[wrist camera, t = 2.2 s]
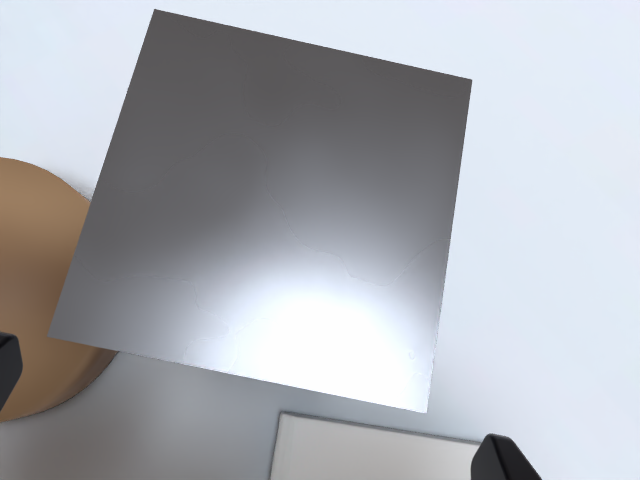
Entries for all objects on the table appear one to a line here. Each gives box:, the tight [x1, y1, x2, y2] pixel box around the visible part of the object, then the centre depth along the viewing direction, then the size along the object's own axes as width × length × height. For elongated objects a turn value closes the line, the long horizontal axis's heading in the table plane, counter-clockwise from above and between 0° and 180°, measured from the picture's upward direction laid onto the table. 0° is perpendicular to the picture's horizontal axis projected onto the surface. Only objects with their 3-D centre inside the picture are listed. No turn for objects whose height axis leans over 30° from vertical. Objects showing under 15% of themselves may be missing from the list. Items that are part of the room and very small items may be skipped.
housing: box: [47, 9, 472, 414], centre depth 13 cm, size 5×5×13 cm
